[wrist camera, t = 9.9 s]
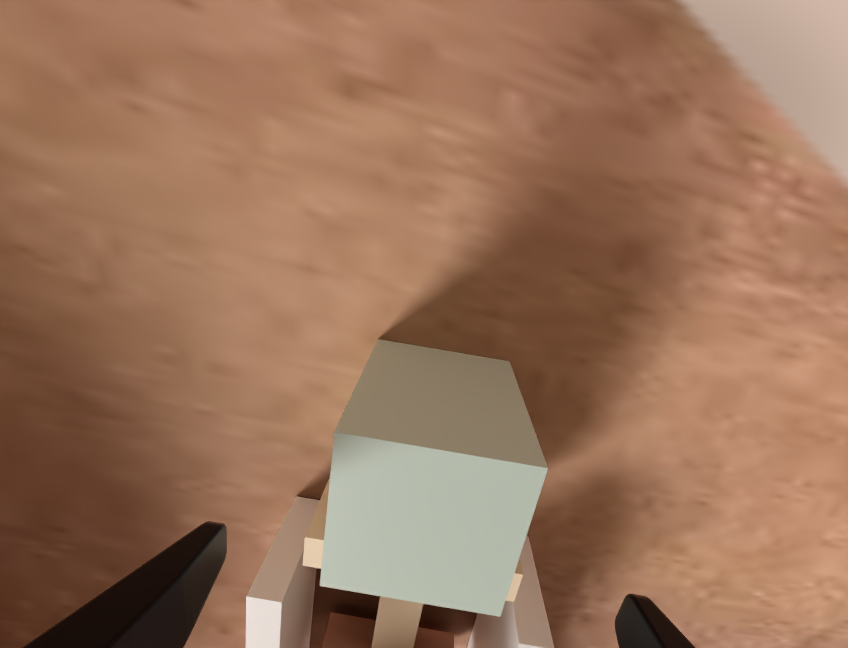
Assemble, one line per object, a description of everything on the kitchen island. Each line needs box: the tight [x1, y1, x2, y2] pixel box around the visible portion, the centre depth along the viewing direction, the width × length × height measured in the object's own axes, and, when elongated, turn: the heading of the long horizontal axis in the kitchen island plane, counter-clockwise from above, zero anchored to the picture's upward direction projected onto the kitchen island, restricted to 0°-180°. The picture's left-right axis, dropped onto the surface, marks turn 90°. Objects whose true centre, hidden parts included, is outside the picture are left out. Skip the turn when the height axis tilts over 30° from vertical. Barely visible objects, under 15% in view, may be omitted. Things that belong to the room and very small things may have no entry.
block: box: [320, 339, 548, 617], centre depth 13 cm, size 5×5×6 cm
